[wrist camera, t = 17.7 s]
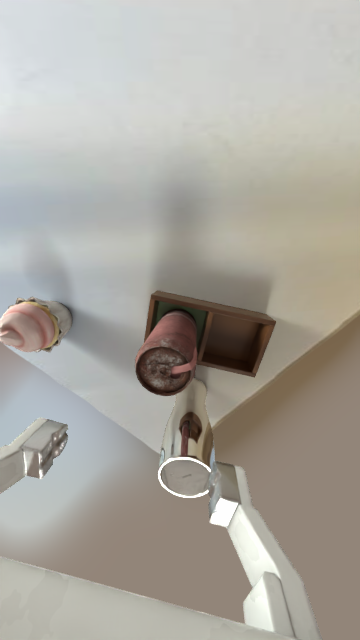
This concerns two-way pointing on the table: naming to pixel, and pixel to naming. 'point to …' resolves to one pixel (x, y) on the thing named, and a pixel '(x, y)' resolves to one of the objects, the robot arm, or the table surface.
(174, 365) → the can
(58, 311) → the cupcake
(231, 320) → the tray
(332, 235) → the table surface
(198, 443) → the beer glass
